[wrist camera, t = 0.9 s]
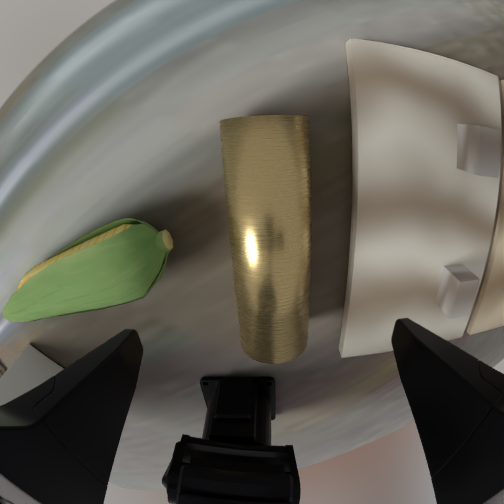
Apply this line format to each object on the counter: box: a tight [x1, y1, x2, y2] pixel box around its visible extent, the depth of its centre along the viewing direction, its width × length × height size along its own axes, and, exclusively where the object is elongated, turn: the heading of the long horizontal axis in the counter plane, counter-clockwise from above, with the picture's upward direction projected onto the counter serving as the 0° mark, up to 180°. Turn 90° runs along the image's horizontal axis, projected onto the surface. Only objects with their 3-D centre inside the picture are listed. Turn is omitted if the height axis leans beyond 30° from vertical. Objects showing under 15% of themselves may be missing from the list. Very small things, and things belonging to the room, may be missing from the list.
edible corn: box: [3, 218, 173, 323], centre depth 18 cm, size 5×20×5 cm
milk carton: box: [0, 344, 64, 406], centre depth 17 cm, size 7×7×19 cm
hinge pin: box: [220, 115, 311, 364], centre depth 16 cm, size 14×4×4 cm, turn 4°
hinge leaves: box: [339, 38, 504, 358], centre depth 15 cm, size 22×25×4 cm
